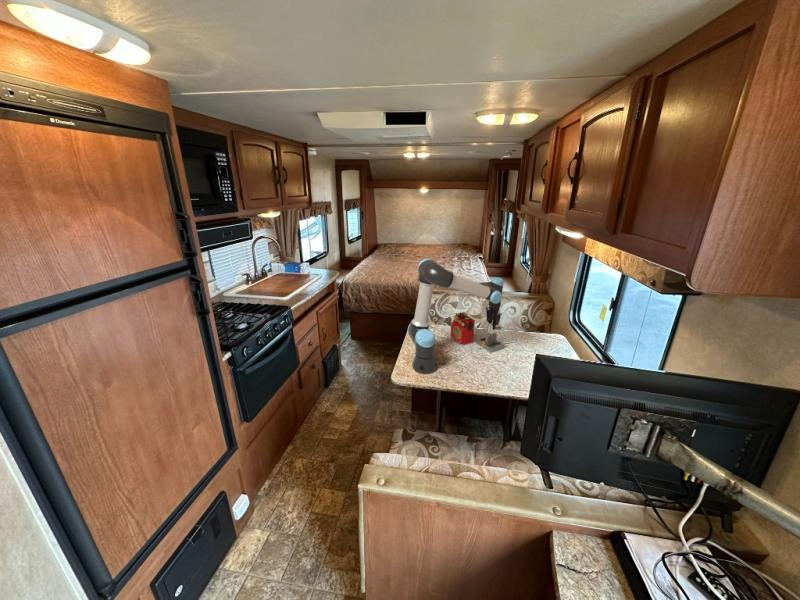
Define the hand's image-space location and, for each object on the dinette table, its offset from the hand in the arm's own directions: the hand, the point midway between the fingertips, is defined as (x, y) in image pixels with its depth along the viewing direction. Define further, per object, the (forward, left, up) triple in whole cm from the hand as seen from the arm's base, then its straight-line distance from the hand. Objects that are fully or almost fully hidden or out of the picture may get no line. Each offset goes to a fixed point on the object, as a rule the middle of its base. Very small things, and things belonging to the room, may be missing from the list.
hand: (491, 332), depth 210 cm
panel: (0, 0, -10) cm, 10 cm away
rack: (0, 0, -10) cm, 10 cm away
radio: (-12, +16, -11) cm, 23 cm away
